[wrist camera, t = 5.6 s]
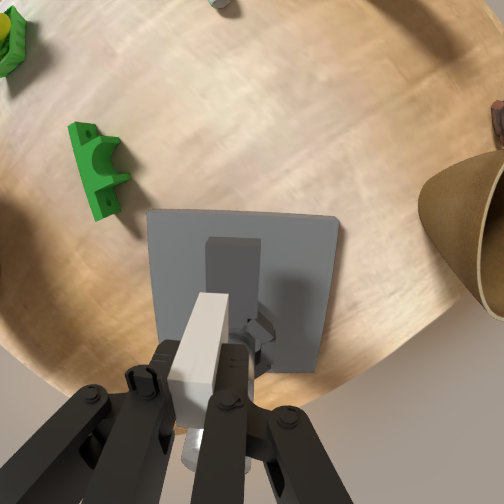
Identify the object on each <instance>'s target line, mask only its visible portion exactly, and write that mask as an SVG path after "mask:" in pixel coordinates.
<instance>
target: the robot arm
mask: <svg viewBox="0 0 504 504" xmlns="http://www.w3.org/2000/svg"><path fill="white" fill-rule="evenodd" d="M228 298H229V294H220V293H202V292H200V293H199V296H198V298H197V301H196V303H195V306H194V308H193V311H192V314H191V316H190V319H189V321H188V324H187V327H186V329H185V332H184V335H183V337H182V340H181V341H179V340H169V339H165V340H164V341H163V342H161V343H160V344H159V345H158V347H157V349H156V351H155V354H154V355H153V357H152V361H150V364H149V365H137V366H134V367H132V368H130V369H128V370H127V371H126V373H125V377H126V381H127V384H128V387H129V392H127V393H117V394H108V393H107V391H106V389H105V388H103V387H102V386H100V385H96V384H91V385H86V386H83V387H82V388H81V389H79V390H78V391H77V392H76V393H75V394H74V395H73V396H72V397H71V398H70V399H69V400H68V401H67V402H66V403H65V404H64V405H63V406H62V407H61V408H60V409H59V410H58V411H57V412H56V413H55V414H54V415H53V416H52V417H51V418H50V419H49V420H47V421H46V423H45V424H44V425H42V427H41V428H40V429H38V430H37V431H36V433H35V434H34V435H33V436H32V437H31V438H30V439H29V440H28V441H27V442H26V443H25V444H24V445H23V446H22V447H21V448H20V449H19V450H18V451H17V452H16V453H15V454H14V455H13V456H12V457H11V458H10V459H9V460H8V461H7V462H6V463H5V464H4V465H3V466H2V467H1V468H0V504H79V503H80V501H81V500H82V499H83V500H82V503H81V504H159V500H160V496H161V492H162V487H163V483H164V479H165V475H166V470H167V466H168V461H169V458H170V453H171V450H172V446H173V442H174V438H175V434H174V429H173V427H174V423H175V420H176V423H177V426H178V427H186V428H194V429H203V432H202V438H201V444H200V450H199V455H198V461H197V467H196V473H195V479H194V485H193V491H192V497H191V503H190V504H243V502H244V481H245V456H247V457H250V458H254V459H257V460H260V461H263V463H264V467H265V470H266V473H267V476H268V478H269V481H270V484H271V487H272V490H273V493H274V496H275V498H276V501H277V504H353V502H352V500H351V498H350V496H349V494H348V492H347V491H346V489H345V487H344V485H343V483H342V481H341V479H340V477H339V475H338V474H337V472H336V470H335V468H334V466H333V464H332V462H331V460H330V458H329V457H328V455H327V453H326V451H325V449H324V447H323V445H322V443H321V441H320V439H319V437H318V435H317V433H316V431H315V429H314V428H313V425H312V423H311V422H310V419H309V418H308V416H307V414H306V413H305V412H304V411H303V410H301V409H300V408H298V407H294V406H280V407H277V408H275V409H274V410H272V411H270V410H267V409H263V408H261V407H258V406H257V405H255V404H254V403H253V402H252V401H251V400H250V398H249V396H248V374H249V351H248V349H247V347H246V346H245V344H228Z"/></svg>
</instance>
